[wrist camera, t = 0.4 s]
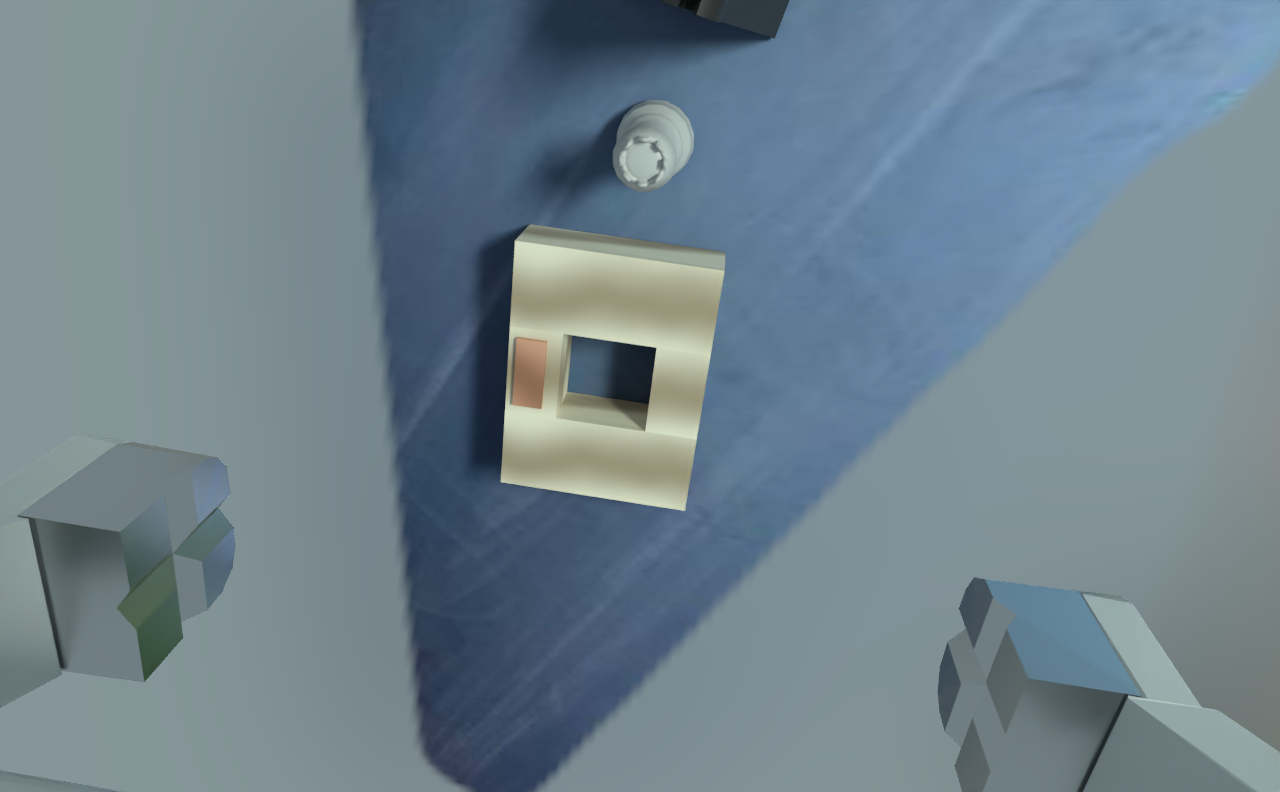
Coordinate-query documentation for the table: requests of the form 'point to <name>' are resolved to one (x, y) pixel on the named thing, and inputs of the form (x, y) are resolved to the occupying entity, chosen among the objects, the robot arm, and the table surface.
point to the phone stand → (739, 13)
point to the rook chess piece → (652, 145)
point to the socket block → (614, 311)
